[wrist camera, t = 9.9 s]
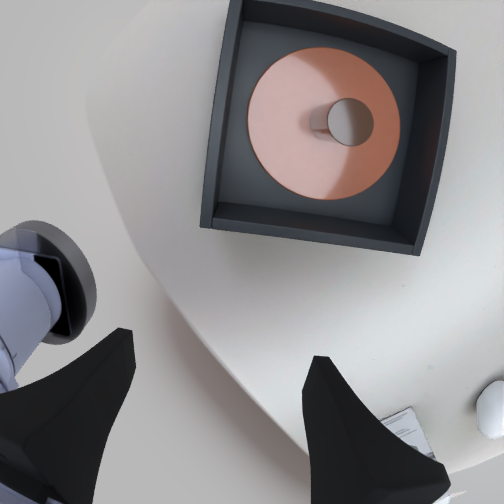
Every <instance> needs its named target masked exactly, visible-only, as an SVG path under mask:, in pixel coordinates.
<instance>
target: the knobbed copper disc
mask: <svg viewBox="0 0 504 504" xmlns="http://www.w3.org/2000/svg"><path fill="white" fill-rule="evenodd" d="M247 131H248V136H249V141H250V144H251V147H252V149H253V152H254V154H255V156H256V158H257V160H258V161H259V163H260V164H261V166H262V167H263V169H264V170H265V171H266V172H267V173H268V174H269V176H270V177H271V178H273V179H274V180H275V181H276V182H277V183H278V184H280V185H281V186H283V187H284V188H286V189H287V190H289V191H291V192H293V193H295V194H297V195H300V196H303V197H306V198H310V199H315V200H339V199H344V198H348V197H351V196H354V195H356V194H358V193H361V192H363V191H364V190H366V189H367V188H369V187H371V186H372V185H373V184H374V183H375V182H377V181H378V180H379V179H380V178H381V177H382V175H383V174H384V173H385V172H386V170H387V169H388V168H389V166H390V164H391V162H392V160H393V159H394V156H395V154H396V151H397V148H398V143H399V138H400V116H399V110H398V107H397V103H396V100H395V98H394V95H393V93H392V91H391V89H390V88H389V86H388V84H387V83H386V81H385V80H384V79H383V77H382V76H381V75H380V74H379V73H378V72H377V71H376V70H375V69H374V68H373V67H372V66H371V65H369V64H368V63H367V62H366V61H364V60H362V59H361V58H359V57H358V56H355V55H353V54H351V53H349V52H346V51H343V50H340V49H335V48H330V47H310V48H304V49H300V50H297V51H294V52H291V53H289V54H287V55H285V56H283V57H281V58H280V59H278V60H277V61H275V62H274V63H273V64H271V65H270V66H269V67H268V68H267V69H266V70H265V71H264V73H263V74H262V75H261V77H260V78H259V79H258V81H257V83H256V85H255V87H254V88H253V91H252V94H251V96H250V99H249V104H248V108H247Z"/></svg>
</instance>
